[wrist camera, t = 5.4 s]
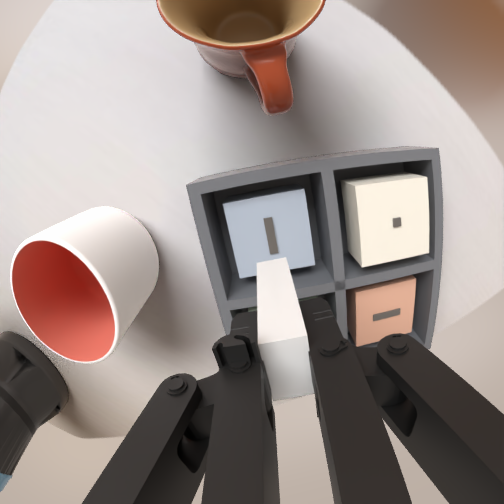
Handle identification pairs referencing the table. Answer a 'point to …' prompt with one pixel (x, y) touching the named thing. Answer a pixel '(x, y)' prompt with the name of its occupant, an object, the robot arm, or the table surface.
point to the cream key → (386, 217)
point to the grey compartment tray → (322, 232)
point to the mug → (246, 39)
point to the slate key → (269, 228)
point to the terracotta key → (380, 309)
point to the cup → (85, 282)
